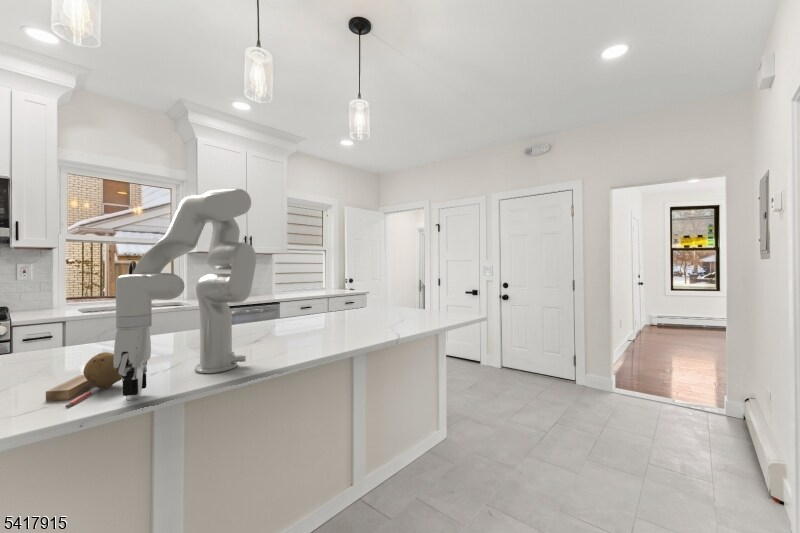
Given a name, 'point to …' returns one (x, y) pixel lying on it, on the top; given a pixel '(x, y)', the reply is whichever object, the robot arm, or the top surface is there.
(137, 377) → the milkshake
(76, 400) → the carpenter pencil
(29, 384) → the top surface
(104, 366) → the coconut
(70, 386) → the batten
